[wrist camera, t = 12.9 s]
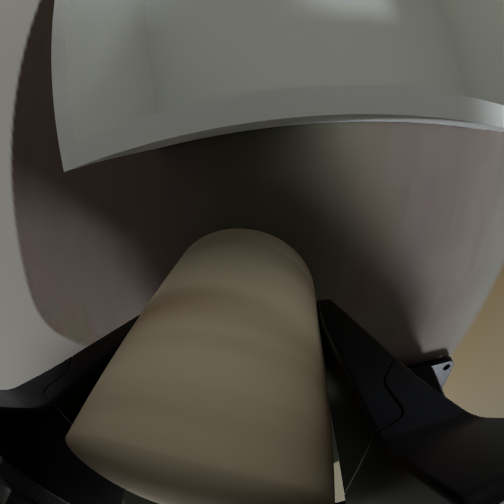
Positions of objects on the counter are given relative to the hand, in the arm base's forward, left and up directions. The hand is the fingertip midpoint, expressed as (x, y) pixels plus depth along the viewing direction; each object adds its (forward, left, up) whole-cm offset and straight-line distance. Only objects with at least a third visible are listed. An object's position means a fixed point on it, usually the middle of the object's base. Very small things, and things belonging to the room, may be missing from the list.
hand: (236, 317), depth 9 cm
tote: (+13, -4, -3) cm, 14 cm away
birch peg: (0, 0, -1) cm, 1 cm away
